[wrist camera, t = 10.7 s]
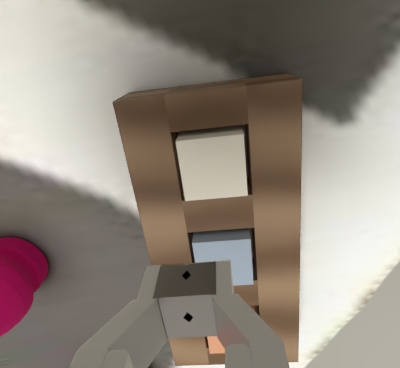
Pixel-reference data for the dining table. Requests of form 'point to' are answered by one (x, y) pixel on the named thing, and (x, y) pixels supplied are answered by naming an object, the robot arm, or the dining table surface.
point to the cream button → (212, 163)
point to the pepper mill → (18, 279)
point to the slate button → (226, 251)
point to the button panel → (224, 207)
